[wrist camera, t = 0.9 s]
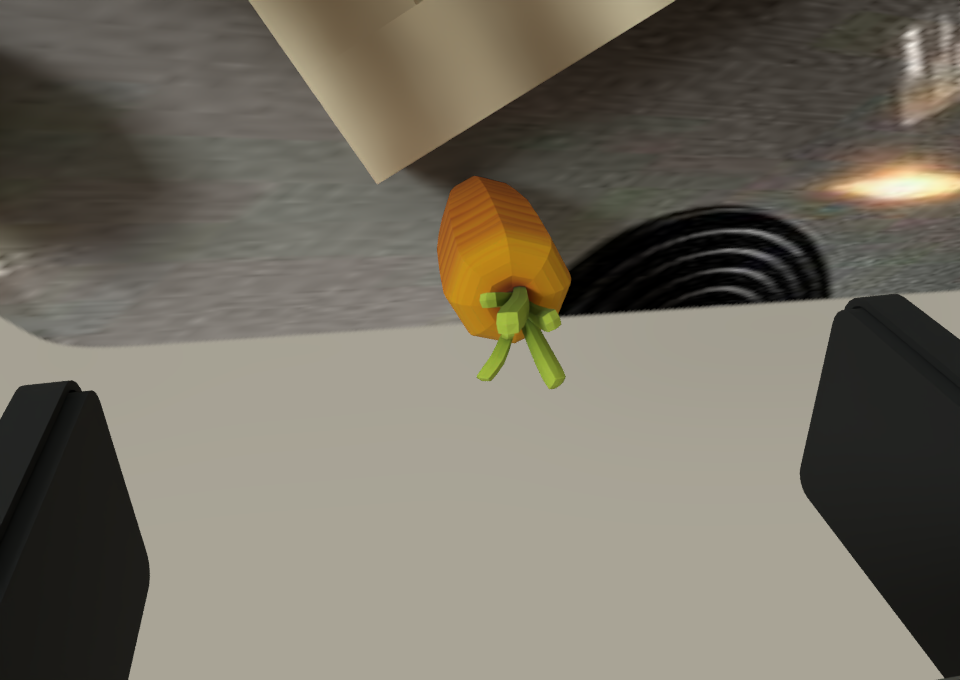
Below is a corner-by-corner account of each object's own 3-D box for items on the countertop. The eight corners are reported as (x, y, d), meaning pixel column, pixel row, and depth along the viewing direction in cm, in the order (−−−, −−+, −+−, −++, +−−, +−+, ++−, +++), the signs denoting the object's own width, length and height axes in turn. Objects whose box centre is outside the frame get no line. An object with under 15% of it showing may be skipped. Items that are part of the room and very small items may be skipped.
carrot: (523, 226, 42) (606, 400, 30) (426, 240, 42) (467, 423, 29) (517, 130, 39) (605, 278, 27) (413, 144, 39) (453, 301, 27)
